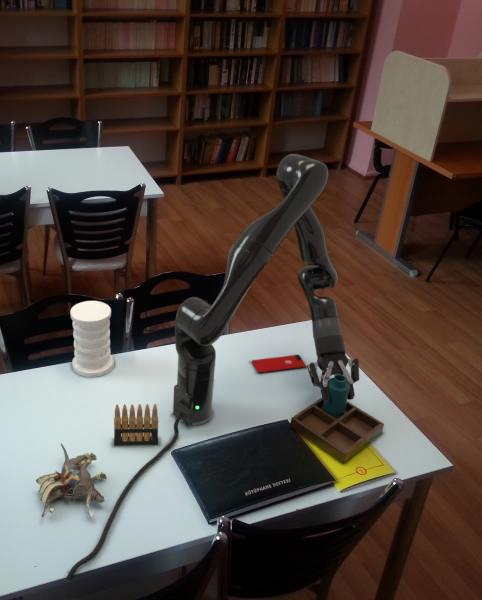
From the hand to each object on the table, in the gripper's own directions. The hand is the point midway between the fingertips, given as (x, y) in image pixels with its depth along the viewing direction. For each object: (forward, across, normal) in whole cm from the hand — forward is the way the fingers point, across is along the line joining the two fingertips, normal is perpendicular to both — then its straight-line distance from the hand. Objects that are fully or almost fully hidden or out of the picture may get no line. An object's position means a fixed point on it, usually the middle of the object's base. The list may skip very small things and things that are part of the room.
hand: (339, 400), depth 158 cm
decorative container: (-19, -60, +28) cm, 69 cm away
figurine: (+13, -69, -5) cm, 71 cm away
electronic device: (-13, -7, +22) cm, 27 cm away
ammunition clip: (+4, -52, +5) cm, 53 cm away
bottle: (+3, 0, +5) cm, 6 cm away
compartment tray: (+7, -2, +2) cm, 8 cm away
